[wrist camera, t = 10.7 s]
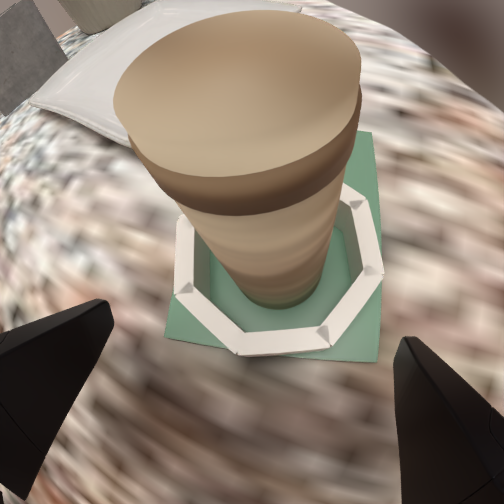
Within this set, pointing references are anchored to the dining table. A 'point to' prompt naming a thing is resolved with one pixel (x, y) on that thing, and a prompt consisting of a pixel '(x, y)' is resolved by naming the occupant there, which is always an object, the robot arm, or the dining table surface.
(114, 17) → the canister
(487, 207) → the dining table surface
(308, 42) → the tan tapered tumbler
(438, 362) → the robot arm
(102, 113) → the square plate
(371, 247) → the octagonal cup coaster
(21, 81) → the hip flask
